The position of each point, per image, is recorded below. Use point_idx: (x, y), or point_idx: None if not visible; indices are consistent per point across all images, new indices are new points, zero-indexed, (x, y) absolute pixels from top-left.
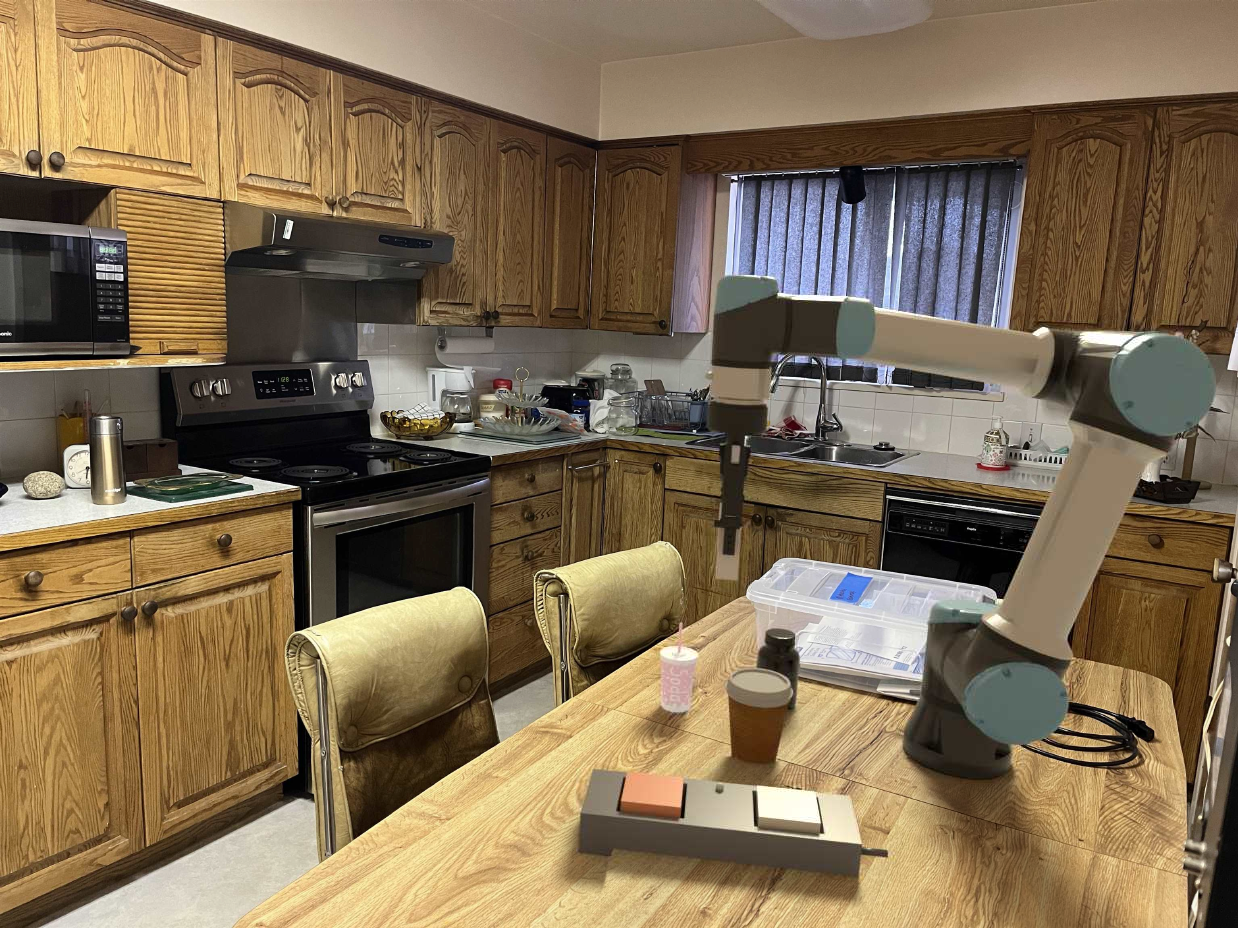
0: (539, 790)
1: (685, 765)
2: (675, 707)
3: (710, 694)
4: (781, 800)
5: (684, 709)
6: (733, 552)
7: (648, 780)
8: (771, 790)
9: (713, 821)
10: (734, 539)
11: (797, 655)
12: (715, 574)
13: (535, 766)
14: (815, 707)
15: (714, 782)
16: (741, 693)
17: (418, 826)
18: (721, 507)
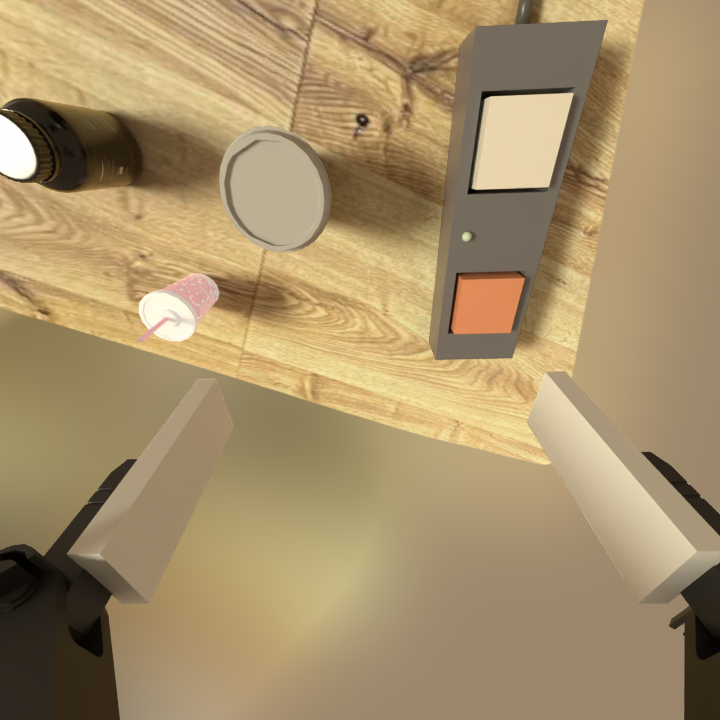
0: (411, 379)
1: (338, 267)
2: (216, 290)
3: (143, 249)
4: (513, 154)
5: (210, 279)
6: (664, 465)
7: (471, 313)
8: (488, 168)
9: (534, 240)
10: (717, 518)
11: (32, 104)
12: (533, 428)
13: (374, 389)
14: (83, 68)
15: (452, 242)
16: (320, 227)
17: (467, 433)
18: (157, 576)
